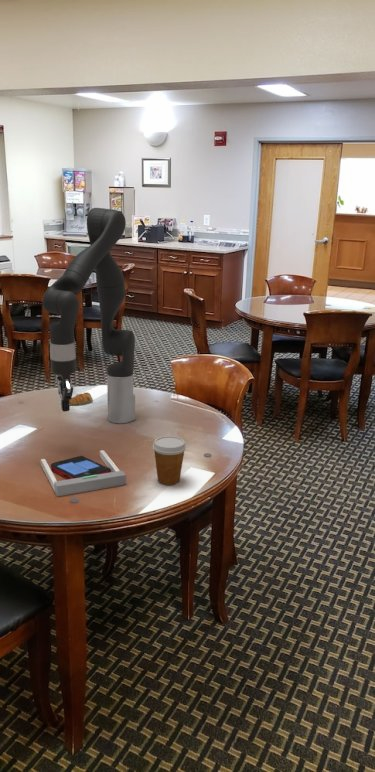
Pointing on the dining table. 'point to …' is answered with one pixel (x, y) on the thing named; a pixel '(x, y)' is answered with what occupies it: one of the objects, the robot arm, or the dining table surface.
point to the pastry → (81, 399)
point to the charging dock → (86, 479)
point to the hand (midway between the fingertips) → (65, 410)
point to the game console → (78, 467)
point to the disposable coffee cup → (169, 458)
